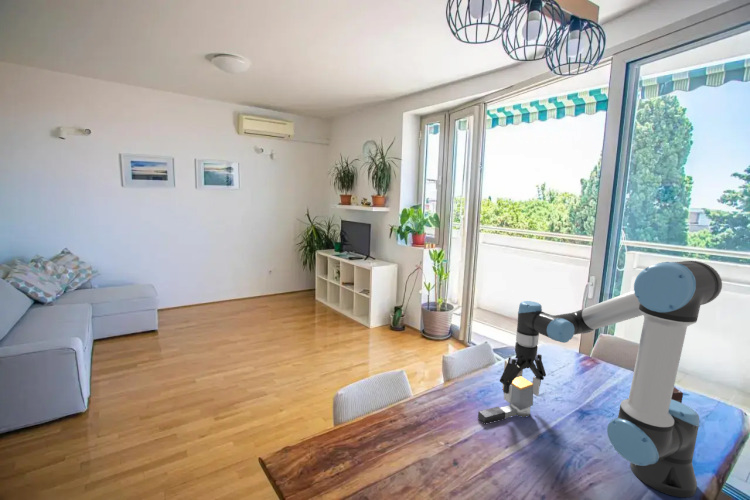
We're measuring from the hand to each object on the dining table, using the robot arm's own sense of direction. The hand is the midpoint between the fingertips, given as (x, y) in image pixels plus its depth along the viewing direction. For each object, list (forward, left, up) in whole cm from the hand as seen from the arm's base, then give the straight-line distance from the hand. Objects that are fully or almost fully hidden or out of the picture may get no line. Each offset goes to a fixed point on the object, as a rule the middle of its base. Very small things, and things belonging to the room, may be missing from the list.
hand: (521, 397), depth 136 cm
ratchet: (0, +7, -6) cm, 9 cm away
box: (-17, -60, -6) cm, 63 cm away
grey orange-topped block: (0, 0, -2) cm, 2 cm away
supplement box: (+11, -6, -6) cm, 14 cm away
